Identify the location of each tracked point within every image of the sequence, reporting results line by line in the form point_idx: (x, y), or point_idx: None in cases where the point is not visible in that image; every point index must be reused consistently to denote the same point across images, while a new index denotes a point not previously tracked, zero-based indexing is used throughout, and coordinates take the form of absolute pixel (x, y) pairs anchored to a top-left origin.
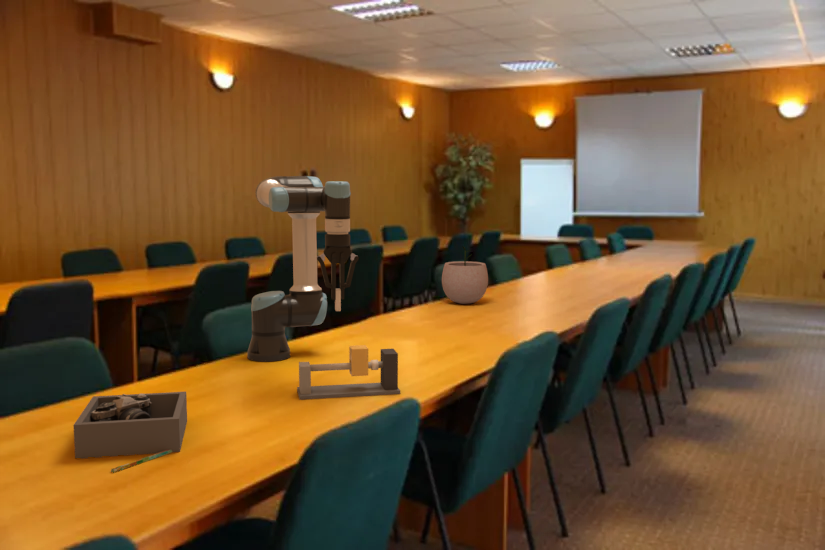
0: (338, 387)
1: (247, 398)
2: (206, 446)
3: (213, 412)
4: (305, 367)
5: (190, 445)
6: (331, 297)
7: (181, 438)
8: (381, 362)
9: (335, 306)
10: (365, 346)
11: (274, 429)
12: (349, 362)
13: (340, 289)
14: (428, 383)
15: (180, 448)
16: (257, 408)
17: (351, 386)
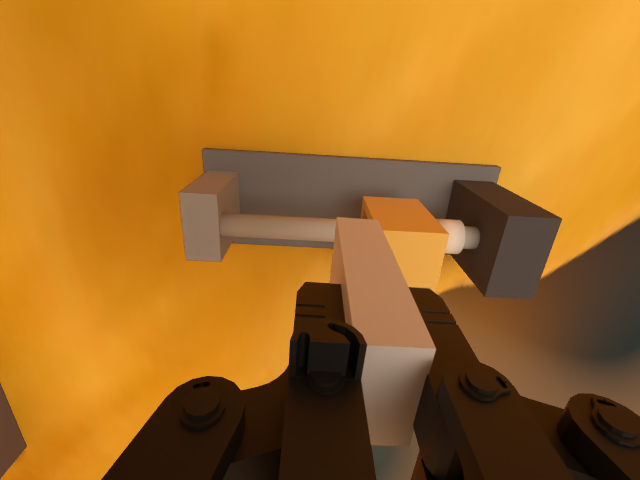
0: (324, 186)
1: (69, 194)
2: (62, 436)
3: (13, 283)
4: (204, 259)
5: (34, 429)
6: (296, 301)
7: (8, 434)
8: (471, 247)
9: (334, 270)
10: (438, 258)
11: (165, 396)
12: (367, 208)
13: (414, 425)
14: (598, 174)
15: (22, 442)
16: (112, 279)
17: (363, 185)
